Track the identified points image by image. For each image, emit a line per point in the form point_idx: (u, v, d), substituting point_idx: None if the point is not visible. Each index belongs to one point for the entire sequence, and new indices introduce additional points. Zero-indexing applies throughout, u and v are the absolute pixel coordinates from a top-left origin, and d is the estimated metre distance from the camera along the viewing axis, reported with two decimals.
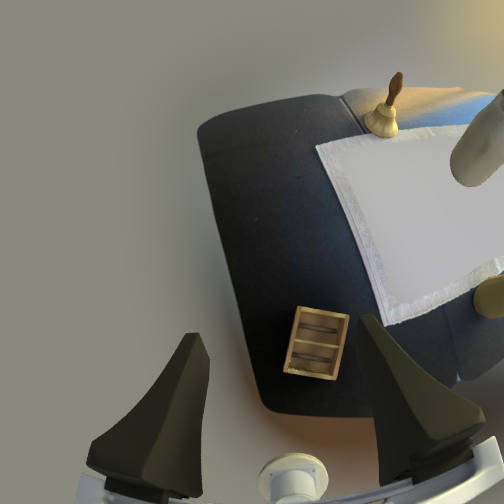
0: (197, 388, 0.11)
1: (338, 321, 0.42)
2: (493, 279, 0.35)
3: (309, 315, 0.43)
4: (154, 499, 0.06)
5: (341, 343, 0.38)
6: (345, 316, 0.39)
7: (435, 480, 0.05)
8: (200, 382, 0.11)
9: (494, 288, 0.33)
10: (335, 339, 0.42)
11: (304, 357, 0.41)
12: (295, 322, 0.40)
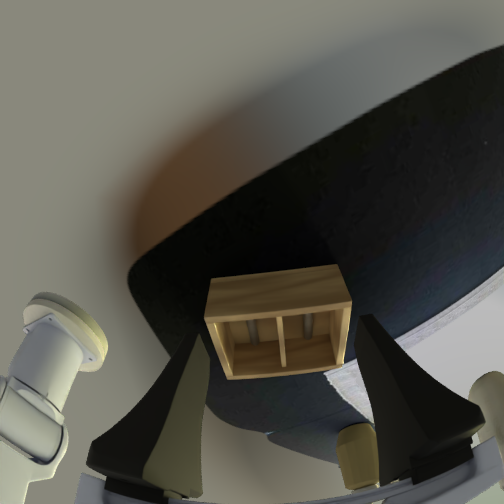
0: (197, 388, 0.11)
1: (325, 332, 0.25)
2: (377, 451, 0.33)
3: None
4: (154, 499, 0.06)
5: (292, 372, 0.22)
6: (339, 364, 0.21)
7: (435, 480, 0.05)
8: (200, 382, 0.11)
9: (368, 458, 0.32)
10: (293, 337, 0.25)
11: None
12: (316, 308, 0.18)
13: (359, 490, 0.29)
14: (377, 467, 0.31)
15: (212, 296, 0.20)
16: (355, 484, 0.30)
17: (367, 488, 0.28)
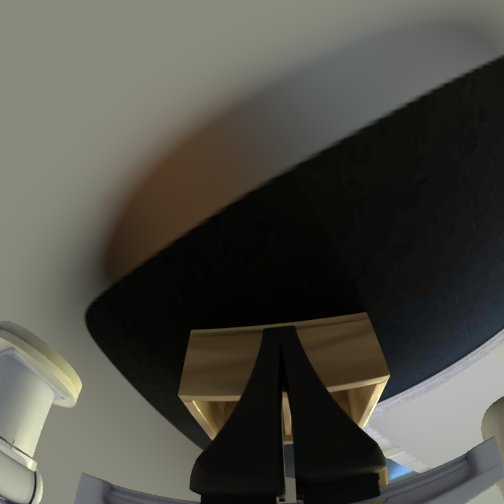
0: (281, 384, 0.10)
1: None
2: (385, 485, 0.27)
3: None
4: None
5: None
6: None
7: (435, 480, 0.05)
8: (281, 378, 0.11)
9: None
10: None
11: None
12: (340, 387, 0.11)
13: None
14: None
15: (191, 360, 0.13)
16: None
17: None
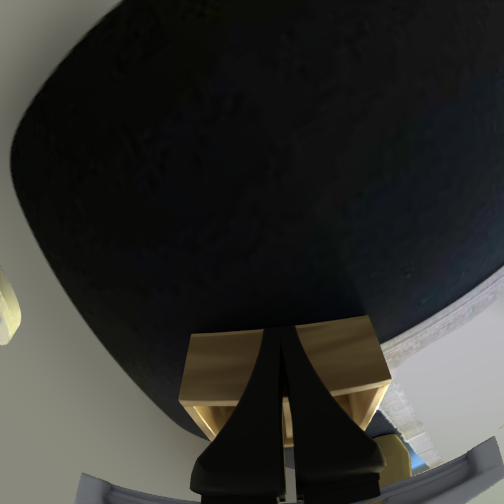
0: (281, 384, 0.10)
1: None
2: (408, 472, 0.21)
3: None
4: None
5: None
6: None
7: (436, 480, 0.05)
8: (282, 378, 0.11)
9: None
10: None
11: None
12: (341, 391, 0.11)
13: None
14: None
15: (191, 365, 0.13)
16: None
17: None
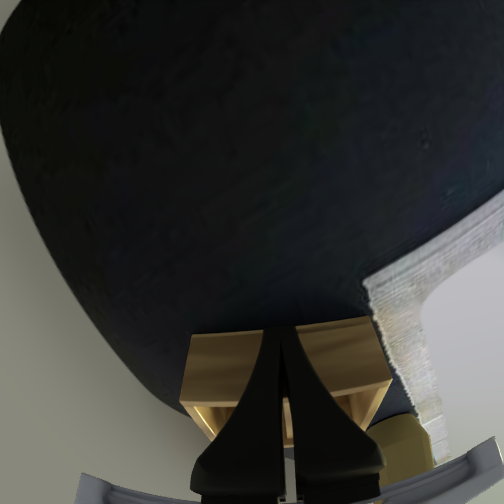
0: (281, 384, 0.10)
1: None
2: (430, 457, 0.17)
3: None
4: None
5: None
6: None
7: (436, 480, 0.05)
8: (282, 378, 0.11)
9: (419, 471, 0.16)
10: None
11: None
12: (342, 392, 0.11)
13: None
14: None
15: (192, 366, 0.13)
16: None
17: None
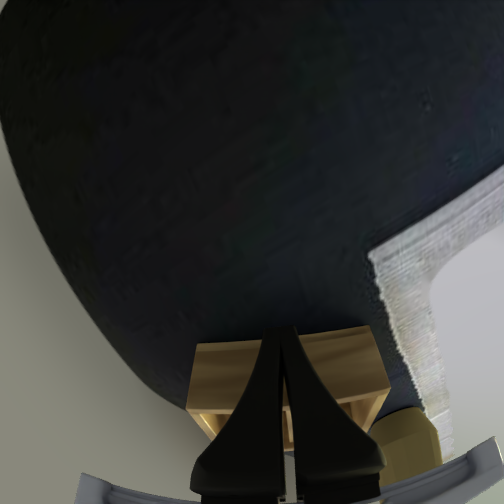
0: (281, 384, 0.10)
1: None
2: (439, 453, 0.16)
3: None
4: None
5: None
6: None
7: (435, 480, 0.05)
8: (282, 378, 0.11)
9: (428, 467, 0.15)
10: None
11: None
12: (342, 400, 0.11)
13: None
14: None
15: (197, 374, 0.14)
16: None
17: None
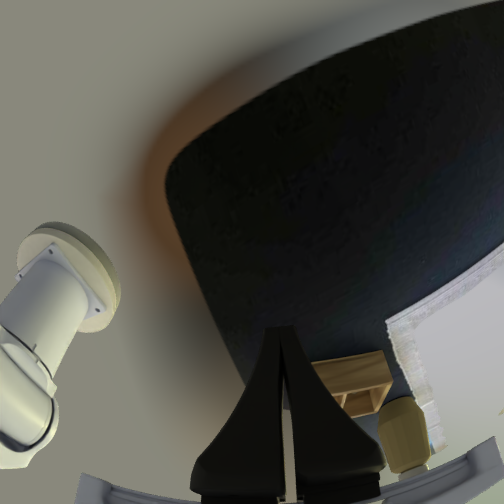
0: (281, 384, 0.10)
1: None
2: (424, 426, 0.29)
3: None
4: None
5: None
6: (376, 411, 0.27)
7: (436, 480, 0.05)
8: (282, 378, 0.11)
9: (417, 434, 0.28)
10: None
11: None
12: (371, 387, 0.24)
13: (409, 472, 0.24)
14: (426, 444, 0.26)
15: None
16: (405, 465, 0.25)
17: (418, 469, 0.24)
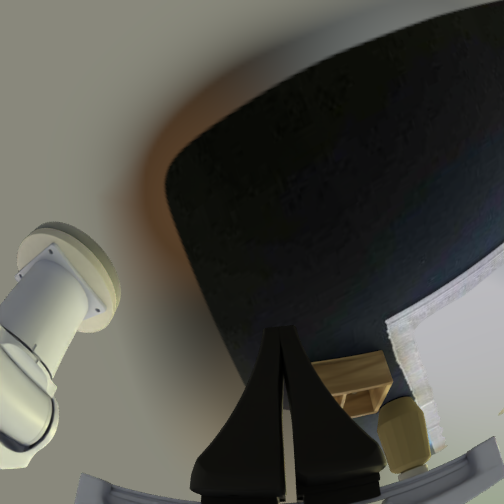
0: (281, 384, 0.10)
1: None
2: (424, 426, 0.29)
3: None
4: None
5: None
6: (375, 411, 0.28)
7: (435, 480, 0.05)
8: (282, 378, 0.11)
9: (417, 434, 0.28)
10: None
11: None
12: (371, 387, 0.24)
13: (409, 472, 0.24)
14: (426, 444, 0.26)
15: None
16: (404, 465, 0.25)
17: (417, 469, 0.24)
